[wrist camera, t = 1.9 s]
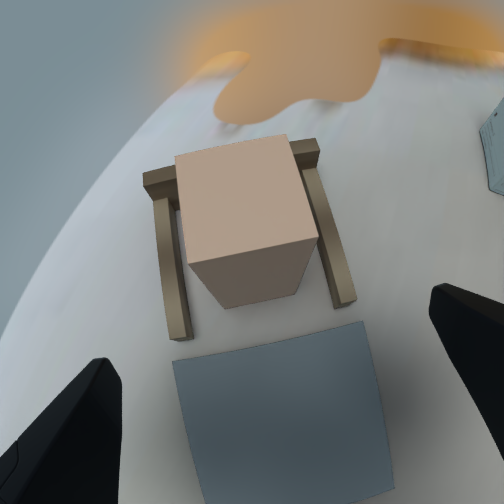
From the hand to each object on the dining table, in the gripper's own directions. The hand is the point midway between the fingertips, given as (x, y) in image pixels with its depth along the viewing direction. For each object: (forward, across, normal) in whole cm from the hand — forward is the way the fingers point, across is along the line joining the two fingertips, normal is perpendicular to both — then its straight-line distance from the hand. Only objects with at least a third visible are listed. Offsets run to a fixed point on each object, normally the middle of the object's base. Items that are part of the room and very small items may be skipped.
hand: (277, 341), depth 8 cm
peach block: (+12, 0, +5) cm, 13 cm away
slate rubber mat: (+4, 0, +12) cm, 13 cm away
